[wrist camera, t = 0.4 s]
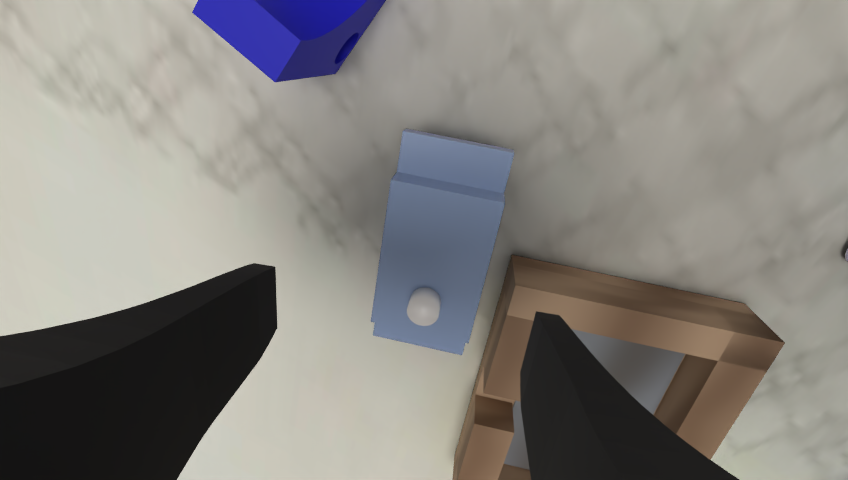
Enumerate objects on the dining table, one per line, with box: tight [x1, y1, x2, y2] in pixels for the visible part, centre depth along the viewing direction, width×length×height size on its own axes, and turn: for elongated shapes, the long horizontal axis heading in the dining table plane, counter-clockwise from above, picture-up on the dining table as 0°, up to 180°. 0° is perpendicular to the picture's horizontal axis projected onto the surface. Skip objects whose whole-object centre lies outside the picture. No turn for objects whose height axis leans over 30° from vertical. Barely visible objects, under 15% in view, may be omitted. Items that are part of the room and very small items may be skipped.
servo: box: [371, 129, 514, 355], centre depth 18 cm, size 4×9×6 cm, turn 170°
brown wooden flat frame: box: [453, 255, 785, 480], centre depth 22 cm, size 11×14×3 cm
